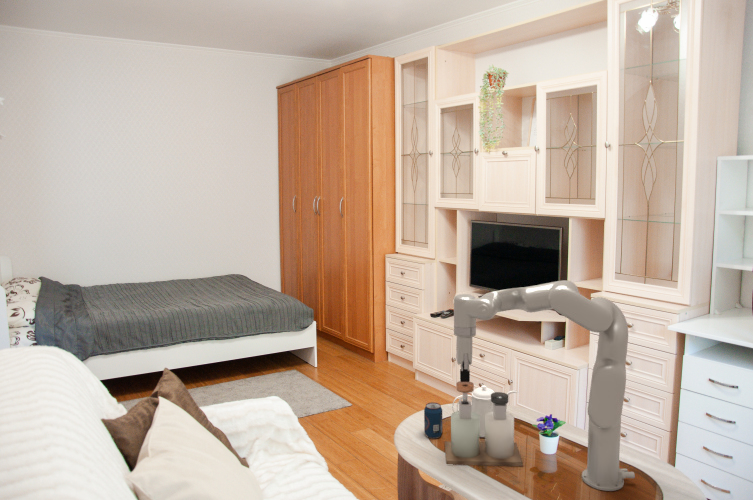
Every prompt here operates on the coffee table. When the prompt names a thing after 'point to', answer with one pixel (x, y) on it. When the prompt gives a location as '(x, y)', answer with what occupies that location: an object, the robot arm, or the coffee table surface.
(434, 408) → the soda can
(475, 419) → the pale green bottle
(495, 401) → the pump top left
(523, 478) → the coffee table surface
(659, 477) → the coffee table surface
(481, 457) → the walnut tray
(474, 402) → the coffeepot
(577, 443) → the coffee table surface
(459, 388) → the brown rounded piece
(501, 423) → the frosted white jar
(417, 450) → the coffee table surface
